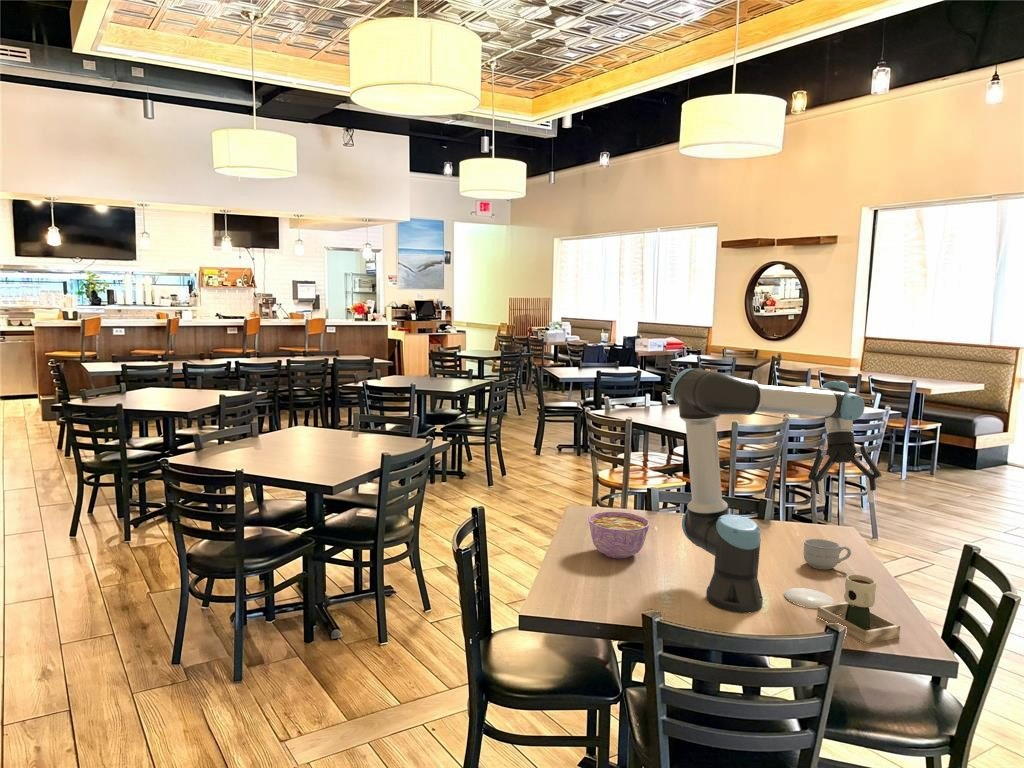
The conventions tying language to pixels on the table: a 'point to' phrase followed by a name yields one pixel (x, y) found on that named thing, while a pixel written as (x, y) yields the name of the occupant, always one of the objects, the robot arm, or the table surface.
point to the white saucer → (808, 597)
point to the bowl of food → (618, 533)
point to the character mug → (859, 599)
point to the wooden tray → (882, 633)
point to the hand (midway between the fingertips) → (846, 502)
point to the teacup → (823, 553)
